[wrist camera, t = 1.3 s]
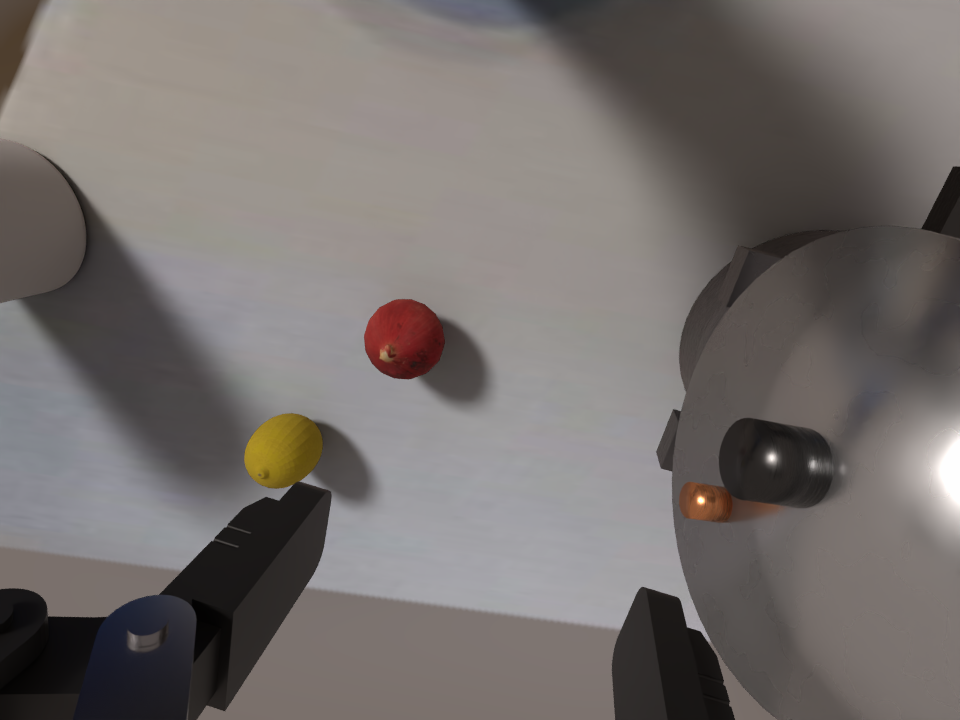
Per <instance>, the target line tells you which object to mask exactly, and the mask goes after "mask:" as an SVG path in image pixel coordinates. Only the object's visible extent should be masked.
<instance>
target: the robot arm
mask: <svg viewBox="0 0 960 720" xmlns="http://www.w3.org/2000/svg"><path fill="white" fill-rule="evenodd" d="M331 497H332V495H331V491H329V490H326V489H322V488H319V487H316V486H312V485H309V484H306V483H302V482H296V483H295V484H294V485H293V486H292V487H291V488H290V489H289V490H288V492H287V493H286V494H285V495H284V496H283V497H282V498H281V499H280V501H278V500H275V499H271V498H268V497H265V498H263V499H261V500H259V501H257V502H255V503H253V504H251V505H249V506H247V507H245V508H243V509H242V510H241V511H240V512H239V513H238V514H237V515H236V516H235V517H234V518H233V520H232V521H231V522H230V523H229V524H228V526H227V528H224V529H223V530H222V531H221V532H220V533H219V534H218V535H217V536H216V537H215V539H214V541H211V542H210V543H209V544H208V545H207V546H206V547H205V548H204V549H203V550H202V551H201V552H200V553H199V554H198V555H197V556H196V557H195V559H194V560H193V561H192V562H191V563H190V564H189V565H188V566H187V567H186V568H185V569H184V570H183V571H182V572H181V573H180V574H179V575H178V576H177V577H176V578H175V579H174V580H173V581H172V582H171V583H170V584H169V585H168V586H167V587H166V588H165V589H164V591H162V592H161V593H160V594H159V595H152V596H146V597H142V598H138V599H135V600H133V601H130V602H128V603H126V604H124V605H122V606H121V607H119V608H118V609H116V610H115V611H114V612H112V613H111V614H110V615H109V616H108V617H95V618H92V617H90V618H89V617H48V613H47V605H46V602H45V601H44V599H43V598H42V597H41V596H40V595H38V594H37V593H35V592H32V591H29V590H25V589H1V590H0V720H196V719H197V718H198V717H199V715H200V714H201V713H202V711H203V710H204V708H205V707H206V705H208V706H211V707H214V708H217V709H220V710H223V711H225V710H226V709H227V707H228V706H229V704H230V703H231V701H232V700H233V698H234V696H235V695H236V693H237V692H238V690H239V689H240V687H241V686H242V684H243V682H244V681H245V679H246V678H247V676H248V675H249V673H250V672H251V670H252V669H253V667H254V665H255V664H256V662H257V661H258V659H259V657H260V656H261V655H262V653H263V652H264V650H265V648H266V647H267V645H268V644H269V642H270V641H271V639H272V638H273V636H274V635H275V633H276V631H277V630H278V628H279V627H280V625H281V624H282V622H283V621H284V619H285V617H286V616H287V614H288V613H289V611H290V610H291V608H292V607H293V605H294V604H295V602H296V600H297V599H298V597H299V596H300V594H301V593H302V591H303V590H304V588H305V587H306V585H307V583H308V582H309V580H310V579H311V577H312V576H313V574H314V572H315V570H316V568H317V566H318V564H319V561H320V558H321V555H322V552H323V548H324V543H325V536H326V530H327V524H328V517H329V511H330V505H331ZM612 677H613V692H614V708H615V720H735V718H734V715H733V711H732V708H731V707H730V706H729V702H730V701H729V697H728V694H727V690H726V687H725V686H724V685H723V682H724V680H723V676H722V673H721V669H720V666H719V662H718V658H717V656H716V654H715V653H714V651H713V650H712V648H711V647H710V645H709V644H708V642H707V641H706V639H705V638H704V636H703V635H702V633H701V632H700V631H697V630H694V629H691V628H687V626H686V621H685V617H684V613H683V609H682V605H681V601H680V599H679V598H677V597H675V596H671V595H668V594H665V593H661V592H658V591H655V590H652V589H648V588H645V587H641V588H640V589H639V591H638V592H637V594H636V597H635V599H634V601H633V603H632V606H631V608H630V610H629V613H628V615H627V617H626V620H625V622H624V624H623V627H622V629H621V631H620V634H619V636H618V638H617V641H616V644H615V648H614V653H613V660H612Z"/></svg>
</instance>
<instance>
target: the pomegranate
mask: <svg viewBox="0 0 960 720" xmlns="http://www.w3.org/2000/svg"><path fill="white" fill-rule="evenodd" d="M364 340H365V350H366V353H367V355H368V357H369V359H370V360H371V362H372V364H373V365H374V366H375V367H376V368H377V369H378V370H379V371H380V372H382V373H383V374H386V375H388V376H390V377H392V378H398V379H412V378H415V377H418V376H420V375H423V374H425V373H427V372H429V370H430V369H431V368H432V367H433V366H434V365H435V364H436V363H437V362H438V361H439V360H440V357H441V354H442V351H443V348H444V344H445V339H444V333H443V327H442V325H441V323H440V321H439V319H438V318H437V316H436V314H435V313H434V312H433V311H432V310H430V309H429V308H428V307H427V306H426V305H425V304H422V303H419V302H417V301H414V300H411V299H397V300H394V301H391V302H389V303H387V304H385V305H383V306H381V307H380V308H379V309H378V310H377V311H376V312H375V313H374V315H373V316H372V317H371V318H370V320H369V322H368V325H367V328H366V331H365V335H364Z"/></svg>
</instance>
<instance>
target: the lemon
mask: <svg viewBox="0 0 960 720" xmlns="http://www.w3.org/2000/svg"><path fill="white" fill-rule="evenodd" d="M322 449H323V440H322V436H321V432H320V431H319V429H318V427H317V426H316V425H315V423H314V422H313V421H311V420H310V419H309V418H307V417H305V416H302V415H299V414H293V413H291V414H282V415H279V416H276V417H273V418H271V419H269V420H268V421H266V422H265V423H264V424H262V425H261V426H260V427H259V428H258V429H257V430H256V431H255V433H254V434H253V435H252V437H251V438H250V440H249V442H248V444H247V447H246V450H245V457H244V461H245V466H246V469H247V471H248V473H249V475H250V476H251V477H252V479H254V480H255V481H256V482H257V483H259V484H260V485H262V486H265V487H268V488H276V489H277V488H285V487H288V486H291V485H293V484H295V483H296V482H299V481H301V480H302V479H303V478H305V477H306V476H307V475H308V474H309V473H310V472H311V471H312V470H313V469H314V467H315V466H316V464H317V463H318V461H319V459H320V457H321V453H322Z"/></svg>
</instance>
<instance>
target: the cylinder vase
mask: <svg viewBox="0 0 960 720" xmlns="http://www.w3.org/2000/svg"><path fill="white" fill-rule="evenodd" d="M85 250H86V227H85V221H84V217H83V213H82V210H81V207H80V205H79V202H78V200H77V198H76V196H75V194H74V192H73V190H72V189H71V187H70V185H69V184H68V182H67V181H66V180H65V178H64V177H63V176H62V174H61V173H60V172H59V171H58V170H57V169H56V168H55V167H54V166H53V165H52V164H51V163H50V162H49V161H48V160H46V159H45V158H44V157H43V156H41V155H40V154H38V153H37V152H35V151H34V150H32V149H30V148H28V147H26V146H24V145H22V144H19V143H17V142H13V141H10V140H5V139H0V303H3V302H7V301H11V300H15V299H20V298H24V297H28V296H33V295H37V294H41V293H45V292H49V291H53V290H55V289H58V288H60V287H62V286H63V285H65V284H66V283H67V282H69V281H70V280H71V279H72V278H73V277H74V275H75V274H76V273H77V271H78V270H79V268H80V266H81V264H82V261H83V258H84V255H85Z"/></svg>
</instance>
